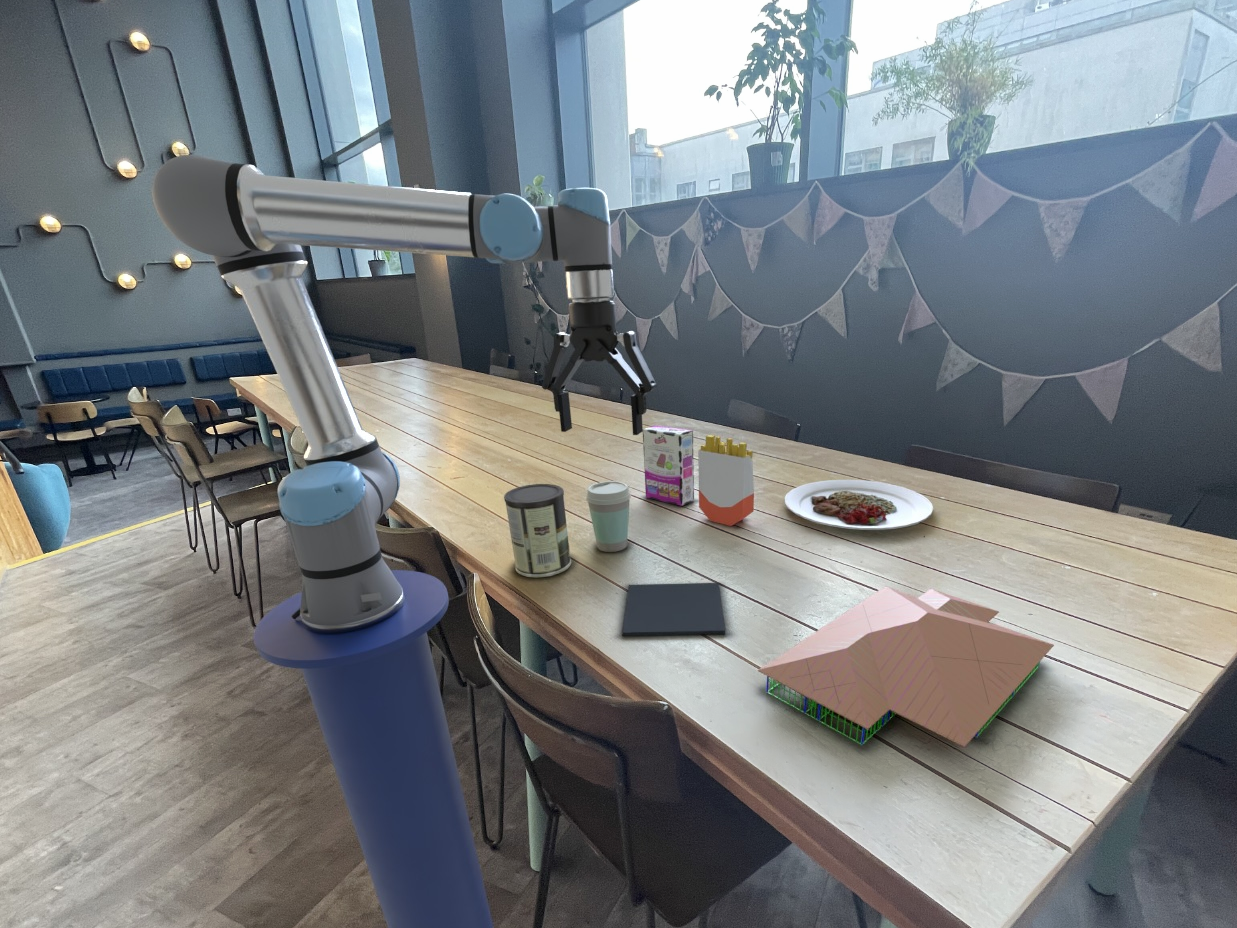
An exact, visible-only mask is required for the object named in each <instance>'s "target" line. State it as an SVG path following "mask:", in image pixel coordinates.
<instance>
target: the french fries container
mask: <svg viewBox="0 0 1237 928" xmlns="http://www.w3.org/2000/svg"><path fill="white" fill-rule="evenodd" d="M721 438H722V437H721V436H718V435H717V436H716V435H714V434H708V435H705V444H701V445H700V448H699V449H698V455H697V456H698V460H697V461H698V508H699V510H700V511H701V512H702V513H703V514H704V516H705V517H706V518H707V520H708V521H710V522H713V523H718V524H721V525H725V526H730V527H732V526H734V525H736V524H738V523H739V522H741V521H742V520H744V519H745V518H747V517H749V515H751V514H752V513H753V512H754V511H755V510H754V509H755V508H754V507H755V487H754V486H755V485H754V484H755V483H754V463H753V462H754V460H753V454H754V451H753V450H747V446H748V444H747V442H743V441H741V442H739V443H734V444H733V442H734V439H733V438H732V437H728V438H726V441H725V442H724V441H721V440H722V439H721Z"/></svg>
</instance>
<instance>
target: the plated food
mask: <svg viewBox="0 0 1237 928" xmlns="http://www.w3.org/2000/svg"><path fill="white" fill-rule="evenodd" d="M784 505H785V506H786V508H787V509H788V510H789V511H790V512H792V513H793V514H794V515H796V516H798V517H800V518H802V519H805V520H807V521H810V522H813V523H816V524H821V525H825V526H829V527H833V528H834V527H835V528H841V529H847V530H857V531H860V530H861V531H883V530H894V529H901V528H907V527H911V526H914V525H918V524H919V523H922V522H924V521H926V520H927V519H929V518H930V517H931V516H932V513H933V511H934V507H933V504H932V502H931V501H930V500H929V499H928V498H927V497H925V496H924V495H923V494H920V493H919V492H917V491H915V490H912V489H909V488H906V487H904V486H900V485H896V484H892V483H887V482H881V481H875V480H866V479H865V480H863V479H827V480H820V481H819V480H818V481H814V482H808V483H804V484H801V485H799V486H796V487H795V488H792V489H790V491H788V492H787V493H786V494H785V496H784Z"/></svg>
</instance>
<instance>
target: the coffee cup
mask: <svg viewBox="0 0 1237 928" xmlns="http://www.w3.org/2000/svg"><path fill="white" fill-rule="evenodd" d="M631 498H632V493H631V490H630V489H629V486H628V484H627V483H625V482H622V481H616V480H615V481H613V480H611V481H610V480H609V481H608V480H607V481H601V482H595V483H593V484H591V485H589V486H588V487H587V491H586V494H585V501H586V502H587V505H588V509H589V514H590V518H591V519H590V520H591V523H592V528H593V532H594V538H595V542H596V547H597V549H598V550H599V551H601V552H605V553H616V552H620V551H622V550H625V549H626V548H627V547H628V540H629V539H628V537H629V522H630V521H629V520H630V504H631V503H630V502H631V501H630V499H631Z"/></svg>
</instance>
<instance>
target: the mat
mask: <svg viewBox="0 0 1237 928" xmlns="http://www.w3.org/2000/svg"><path fill="white" fill-rule="evenodd" d="M621 635H622V637H642V636H643V637H645V636H646V637H647V636H649V637H650V636H693V635H695V636H698V635H699V636H700V635H702V636H703V635H726V625H725V618H724V611H723V603H722V597H721V589H720V583H719V582H695V583H693V582H692V583H691V582H690V583H689V582H688V583H650V584H647V583H646V584H645V583H644V584H628V590H627V597H626V604H625V611H624V617H623V623H622V630H621Z"/></svg>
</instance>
